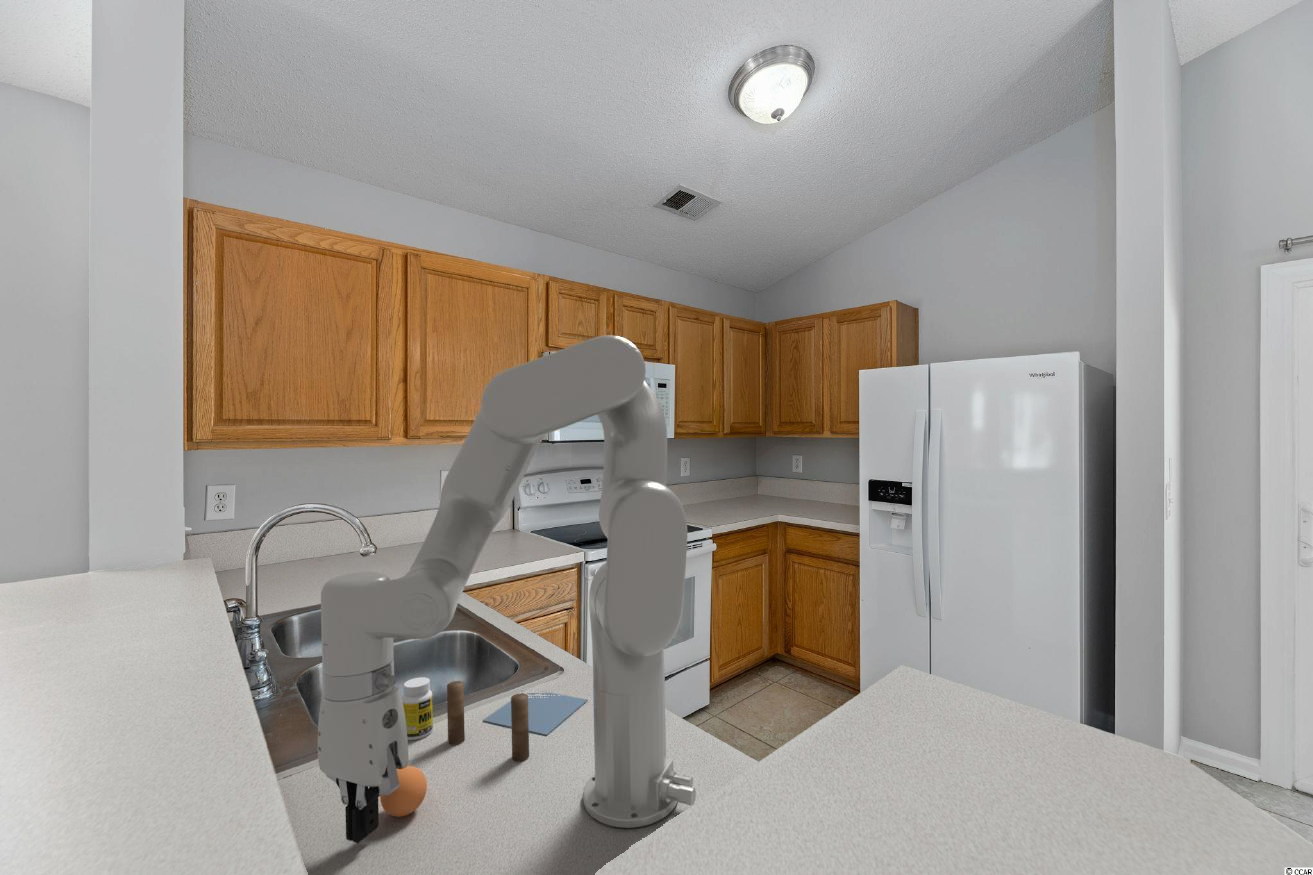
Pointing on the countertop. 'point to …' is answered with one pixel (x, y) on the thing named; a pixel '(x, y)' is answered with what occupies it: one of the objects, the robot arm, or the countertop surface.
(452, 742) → the post far
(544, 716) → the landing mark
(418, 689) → the supplement bottle
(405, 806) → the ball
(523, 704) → the post near
